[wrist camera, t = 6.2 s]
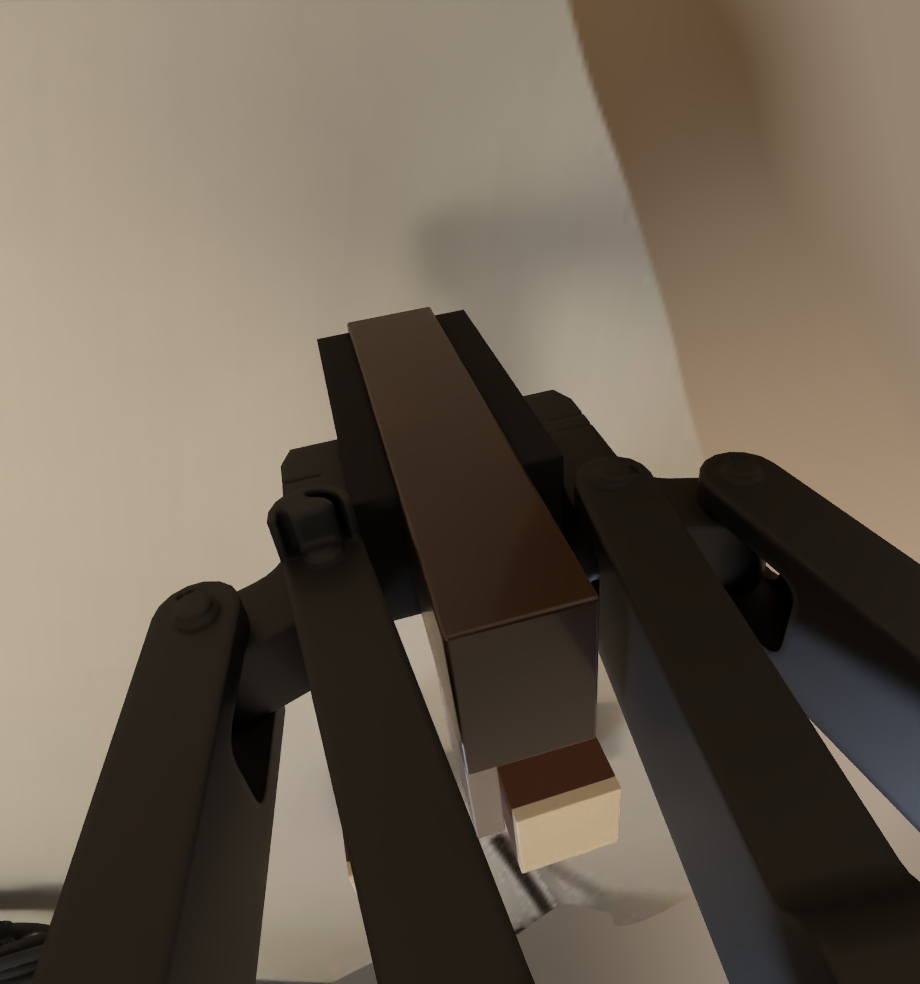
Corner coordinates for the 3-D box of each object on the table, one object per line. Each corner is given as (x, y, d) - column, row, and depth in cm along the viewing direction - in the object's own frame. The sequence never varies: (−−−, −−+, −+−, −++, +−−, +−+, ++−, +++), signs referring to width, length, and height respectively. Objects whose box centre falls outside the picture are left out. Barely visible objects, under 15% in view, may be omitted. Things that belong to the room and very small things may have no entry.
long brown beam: (429, 305, 16) (601, 598, 8) (487, 727, 26) (589, 1037, 19) (346, 321, 16) (442, 639, 8) (436, 742, 26) (518, 1062, 18)
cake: (581, 706, 42) (621, 788, 37) (581, 761, 45) (618, 842, 41) (486, 735, 41) (516, 822, 36) (494, 788, 44) (522, 874, 40)
